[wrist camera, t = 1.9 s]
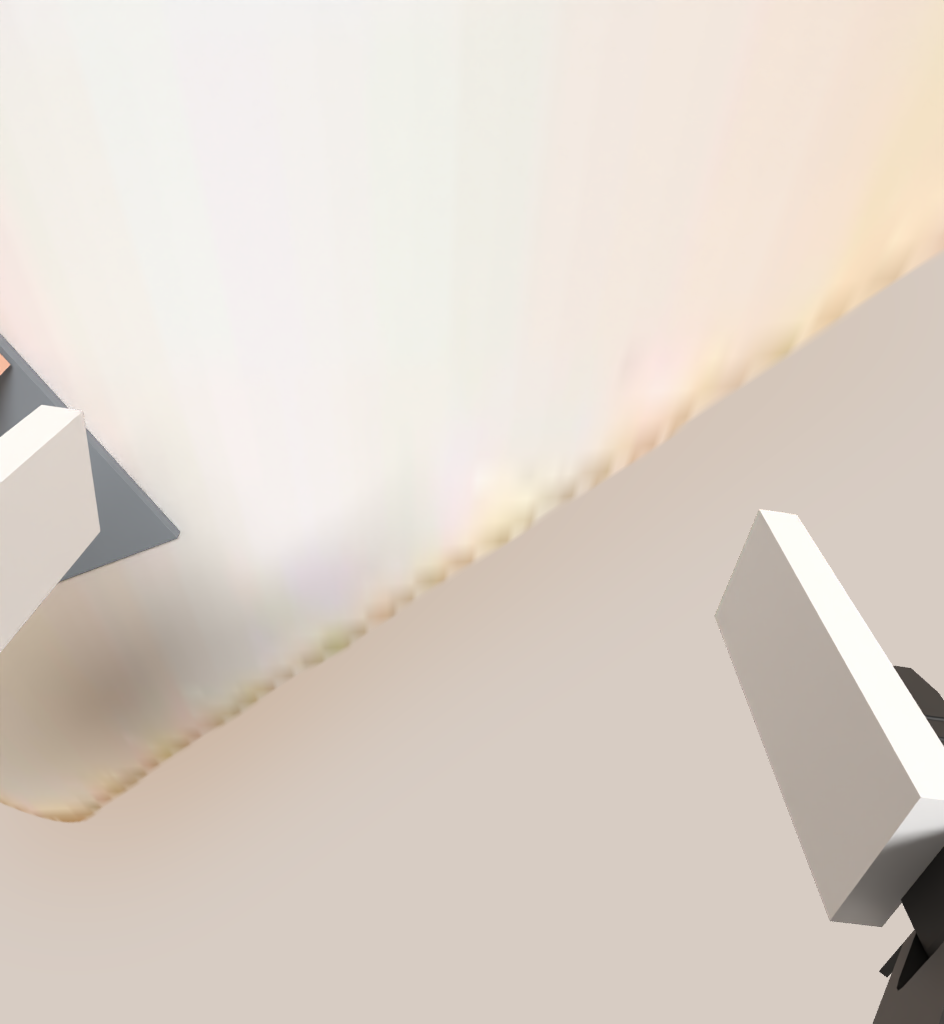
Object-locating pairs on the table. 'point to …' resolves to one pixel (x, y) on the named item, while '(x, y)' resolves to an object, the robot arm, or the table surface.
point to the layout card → (119, 499)
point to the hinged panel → (3, 364)
